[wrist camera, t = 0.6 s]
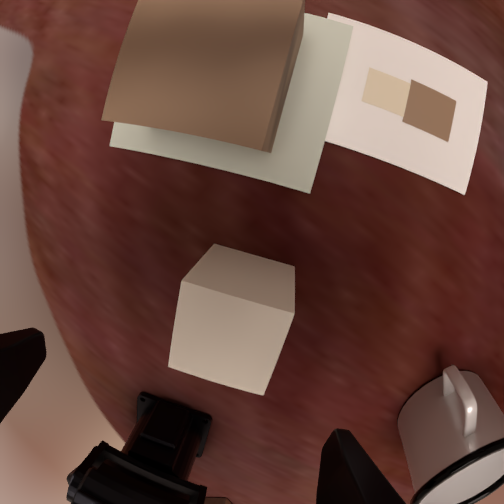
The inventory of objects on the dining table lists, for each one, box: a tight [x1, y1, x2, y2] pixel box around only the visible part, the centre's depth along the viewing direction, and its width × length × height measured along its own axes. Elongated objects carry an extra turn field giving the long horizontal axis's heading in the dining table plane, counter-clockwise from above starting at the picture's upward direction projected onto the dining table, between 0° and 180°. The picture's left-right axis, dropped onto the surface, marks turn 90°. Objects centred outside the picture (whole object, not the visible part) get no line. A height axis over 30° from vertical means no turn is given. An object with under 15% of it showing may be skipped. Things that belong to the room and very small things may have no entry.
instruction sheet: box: [325, 13, 487, 195], centre depth 15 cm, size 8×11×1 cm
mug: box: [398, 365, 504, 504], centre depth 16 cm, size 12×10×9 cm
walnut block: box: [101, 0, 305, 153], centre depth 12 cm, size 7×7×5 cm
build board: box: [110, 13, 353, 194], centre depth 15 cm, size 10×12×1 cm
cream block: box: [168, 244, 295, 395], centre depth 17 cm, size 5×5×6 cm
